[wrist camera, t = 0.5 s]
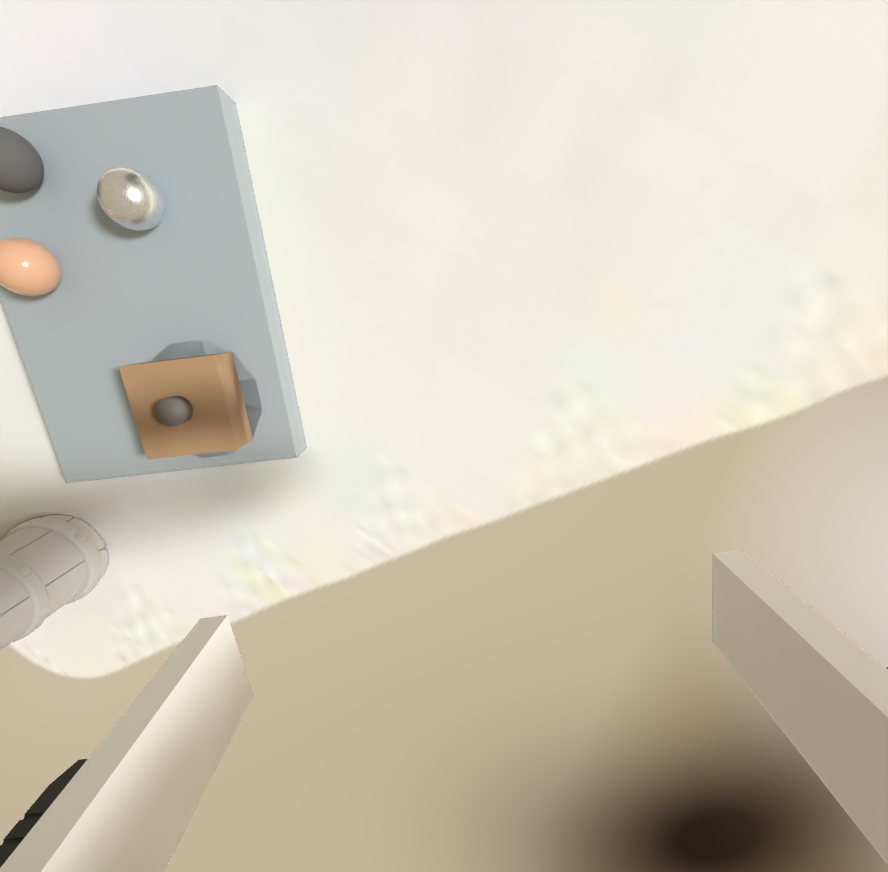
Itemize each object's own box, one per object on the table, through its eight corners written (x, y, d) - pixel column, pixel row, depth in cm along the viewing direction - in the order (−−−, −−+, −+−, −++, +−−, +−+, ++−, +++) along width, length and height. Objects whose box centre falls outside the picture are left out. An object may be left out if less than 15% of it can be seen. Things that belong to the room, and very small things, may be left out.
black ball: (-5, 141, 29) (-66, 119, 26) (48, 134, 29) (-6, 110, 25) (15, 202, 30) (-41, 188, 26) (66, 195, 30) (17, 180, 26)
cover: (143, 362, 32) (105, 368, 29) (232, 351, 32) (204, 356, 28) (168, 449, 34) (135, 465, 30) (253, 439, 34) (229, 454, 30)
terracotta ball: (14, 245, 30) (-40, 237, 27) (64, 238, 30) (16, 229, 27) (33, 299, 31) (-18, 298, 28) (81, 293, 31) (37, 291, 28)
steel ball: (116, 179, 29) (72, 162, 26) (168, 172, 29) (132, 153, 26) (132, 237, 30) (92, 228, 27) (183, 230, 30) (149, 220, 27)
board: (-22, 141, 31) (-62, 126, 29) (235, 103, 30) (217, 85, 28) (90, 471, 37) (66, 482, 35) (306, 447, 37) (296, 457, 34)
